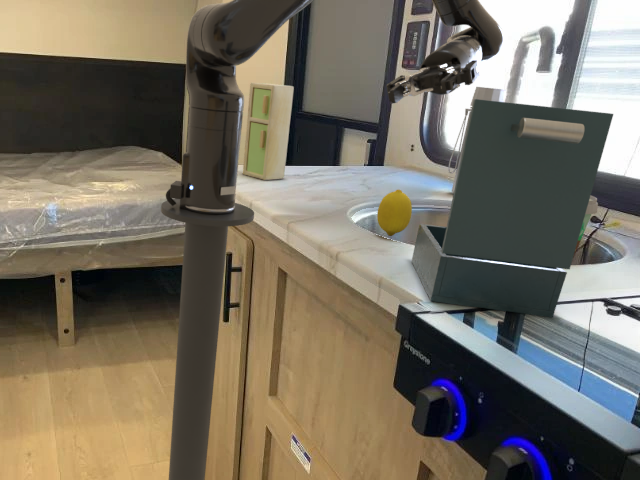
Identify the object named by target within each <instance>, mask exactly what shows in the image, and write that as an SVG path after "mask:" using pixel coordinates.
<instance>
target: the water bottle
mask: <svg viewBox="0 0 640 480" xmlns="http://www.w3.org/2000/svg"><path fill="white" fill-rule="evenodd" d="M505 95H506V89H503V88H494V87H493V88H492V87H485V86H484V87H483V86H476V87H475V90H474V92H473V96H472V99H471V102H470V107H469V108H465V109H464V119H463V121H462V123H461V127H460V130H459V133H458V136H457V138H456V141H455V143H454V148H453V149H452V153H451V156H450V159H449V161H448V174H454V173H455V174H454V179H453V183H452V188H451V193H452V194H454V190H455V185H456V180H457V176H458V171H459V166H460V162H461V157H462V152H463V147H464V143H465V138H466V133H467V129H468V124H469V119H470V115H471V110H472V105H473V101H474V99H479V100H489V101H498V102H505V97H506V96H505ZM467 116H468V117H467ZM466 120H467V121H466ZM460 135H461V137H460ZM459 138H460V142H459ZM458 142H459V146H458V152H457V157H456V161H455V167H454V169H453V170H452V171H451V169H450V168H451V162H452V160H453V156H454V154H455V150H456V147H457V144H458Z"/></svg>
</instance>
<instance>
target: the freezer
mask: <svg viewBox="0 0 640 480" xmlns="http://www.w3.org/2000/svg"><path fill="white" fill-rule="evenodd" d="M446 227H447V226H443V225H436V224H427V223H419V225H418V230H417V234H416V238H415V244H414V248H413V253H412V257H411V264H412V265H413V267H414V269H415V271H416V274H417V276H418V278H419V280H420V282H421V284H422V286H423V289H424V291H425V292H426V294H427V296H428V299H429V301H430V302H433V303H434V302H435V303H442V304H449V305H455V306H456V305H458V306H464V307H472V308H478V309H479V308H480V309H488V310H495V311H502V312H508V313H509V312H510V313H517V314H525V315H533V316H539V317H548V318H554V315H555V312H556V309H557V305H558V301H559V299H560V296H561V293H562V289H563V286H564V283H565V281H566V277H567V275H568V272H567V271H566V269H562V268H554V267H546V266H538V265H531V264H523V263H515V262H507V261H499V260H492V259H484V258H476V257H468V256H460V255H452V254H445V253H442V252H441V251H442V246H443V241H444V237H445V232H446Z"/></svg>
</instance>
